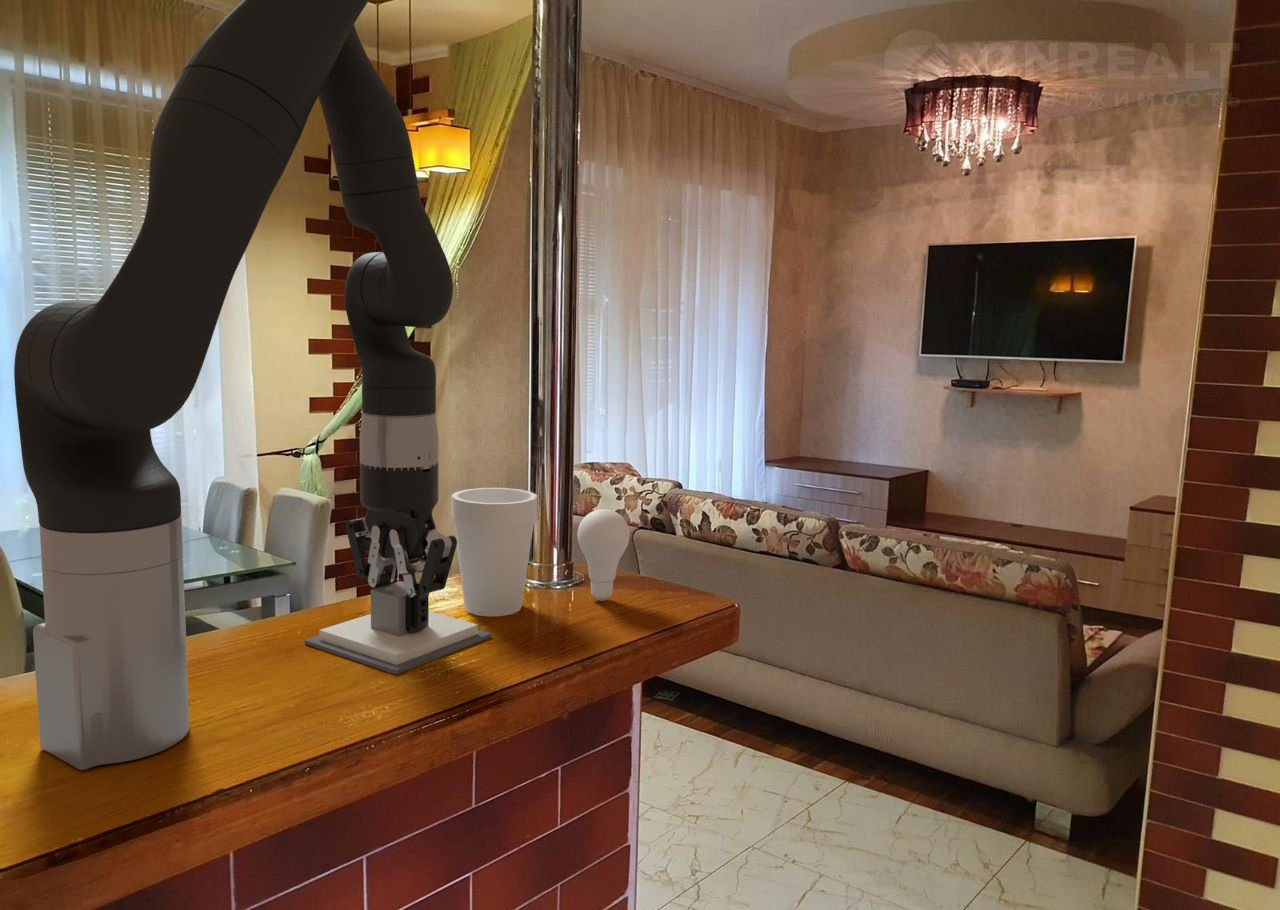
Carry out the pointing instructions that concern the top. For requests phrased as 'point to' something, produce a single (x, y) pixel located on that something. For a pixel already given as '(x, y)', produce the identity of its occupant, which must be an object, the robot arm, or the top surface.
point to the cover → (395, 629)
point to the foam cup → (493, 547)
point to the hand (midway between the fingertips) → (400, 624)
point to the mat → (402, 666)
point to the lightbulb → (603, 548)
